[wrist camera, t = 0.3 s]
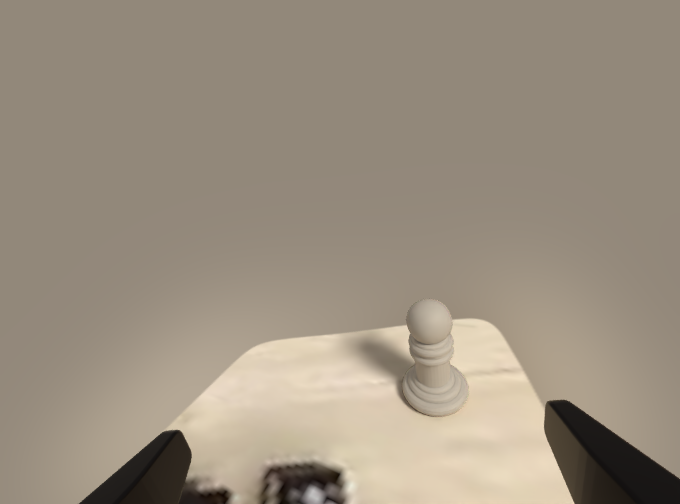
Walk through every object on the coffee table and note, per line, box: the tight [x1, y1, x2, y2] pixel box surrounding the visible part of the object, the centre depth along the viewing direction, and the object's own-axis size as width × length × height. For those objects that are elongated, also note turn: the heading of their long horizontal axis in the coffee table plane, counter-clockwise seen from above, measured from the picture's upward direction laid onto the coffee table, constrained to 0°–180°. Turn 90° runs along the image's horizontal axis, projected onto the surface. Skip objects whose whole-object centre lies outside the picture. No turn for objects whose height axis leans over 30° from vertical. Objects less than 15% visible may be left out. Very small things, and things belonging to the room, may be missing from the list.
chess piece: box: [402, 299, 469, 417], centre depth 26 cm, size 5×5×9 cm
